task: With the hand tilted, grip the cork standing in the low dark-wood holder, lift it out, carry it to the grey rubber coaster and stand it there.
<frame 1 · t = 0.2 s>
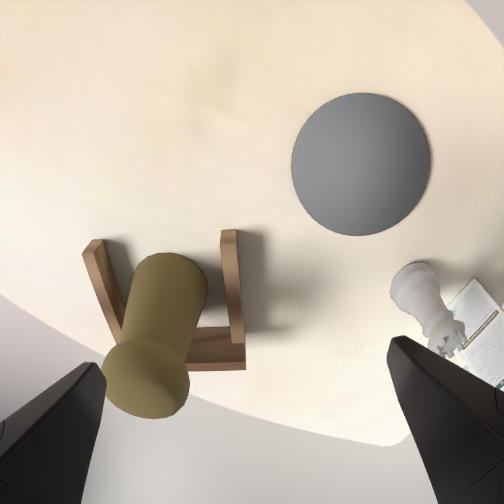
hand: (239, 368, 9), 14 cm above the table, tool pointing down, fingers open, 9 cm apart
rook chess piece: (409, 280, 25), on the table
syrup box: (465, 305, 27), on the table
holder: (170, 286, 24), on the table
coaster: (364, 166, 20), on the table
cork: (170, 284, 25), on the table
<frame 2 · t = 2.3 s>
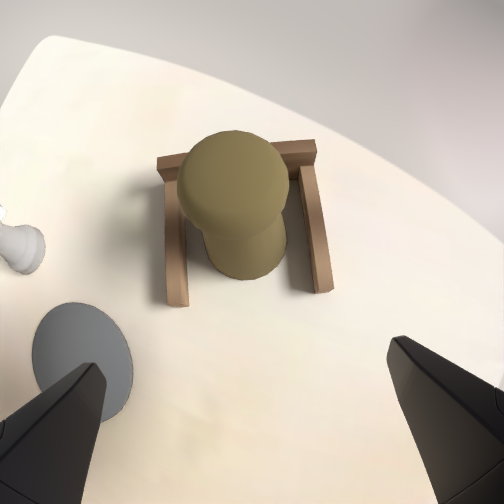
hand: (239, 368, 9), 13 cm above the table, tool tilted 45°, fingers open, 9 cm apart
rook chess piece: (32, 252, 25), on the table
holder: (245, 239, 24), on the table
coaster: (78, 364, 22), on the table
cork: (245, 240, 24), on the table
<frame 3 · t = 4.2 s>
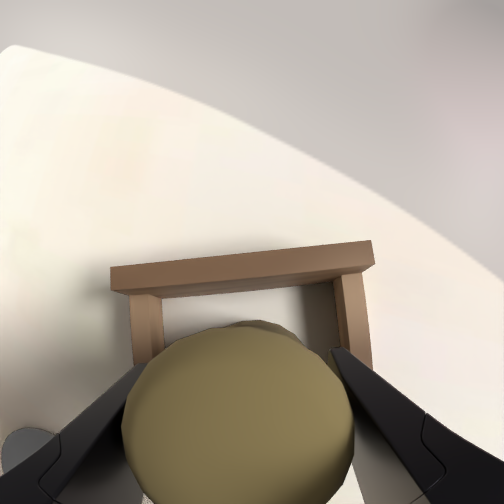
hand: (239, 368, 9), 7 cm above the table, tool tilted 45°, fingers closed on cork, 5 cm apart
holder: (254, 378, 15), on the table
coaster: (55, 492, 14), on the table
cork: (254, 378, 15), on the table, touching gripper
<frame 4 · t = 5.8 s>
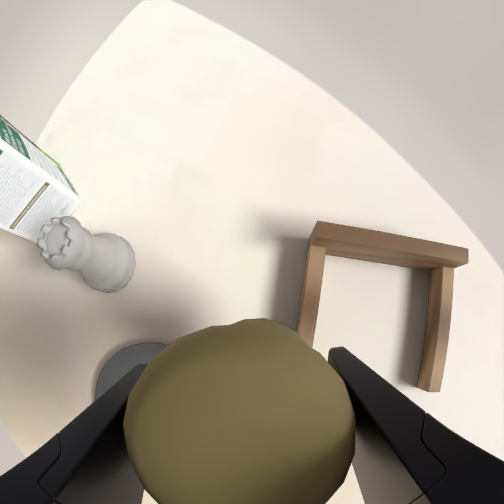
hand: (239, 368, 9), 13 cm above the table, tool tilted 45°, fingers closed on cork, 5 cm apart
rook chess piece: (113, 265, 23), on the table
syrup box: (51, 205, 25), on the table
holder: (373, 324, 21), on the table
coaster: (157, 408, 21), on the table
cork: (257, 376, 16), point 6 cm above the table, touching gripper
when the fingers open (8 cm above the table, at t = 7.6 s): cork stays where it is, resting on coaster.
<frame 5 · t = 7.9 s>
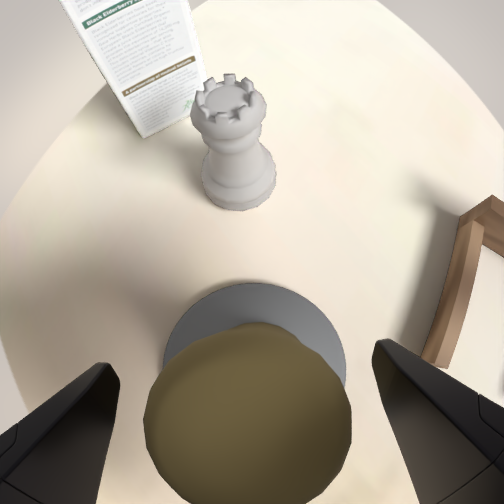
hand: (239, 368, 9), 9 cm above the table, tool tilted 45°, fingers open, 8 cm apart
rook chess piece: (240, 181, 20), on the table
syrup box: (165, 101, 22), on the table
holder: (498, 321, 16), on the table
coaster: (253, 374, 17), on the table
cork: (257, 376, 16), resting on coaster
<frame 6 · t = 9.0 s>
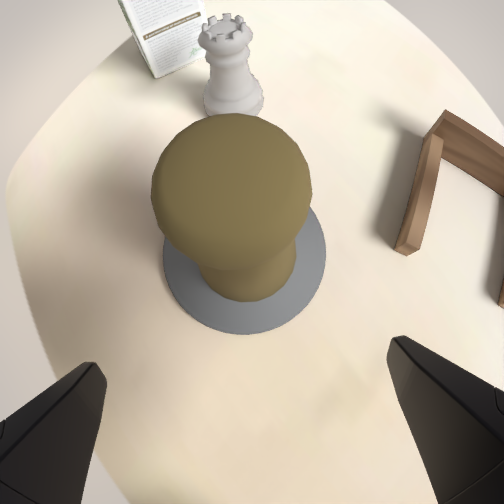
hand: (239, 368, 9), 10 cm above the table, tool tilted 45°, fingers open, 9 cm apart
rook chess piece: (234, 106, 23), on the table
syrup box: (174, 53, 24), on the table
holder: (469, 226, 20), on the table
coaster: (243, 252, 20), on the table
cork: (246, 252, 20), resting on coaster
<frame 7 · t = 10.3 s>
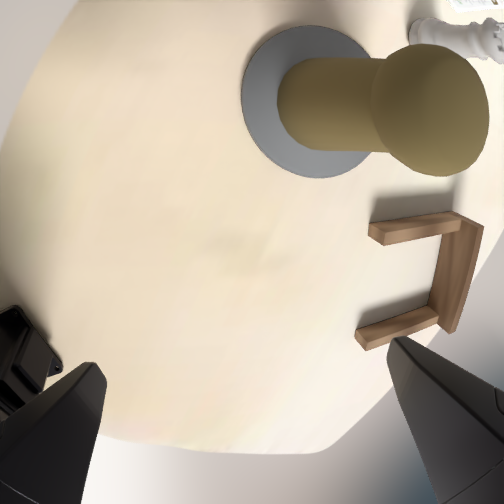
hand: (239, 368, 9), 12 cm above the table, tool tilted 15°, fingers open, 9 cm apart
rook chess piece: (424, 44, 18), on the table
holder: (403, 275, 26), on the table
coaster: (319, 100, 18), on the table
cork: (321, 103, 18), resting on coaster
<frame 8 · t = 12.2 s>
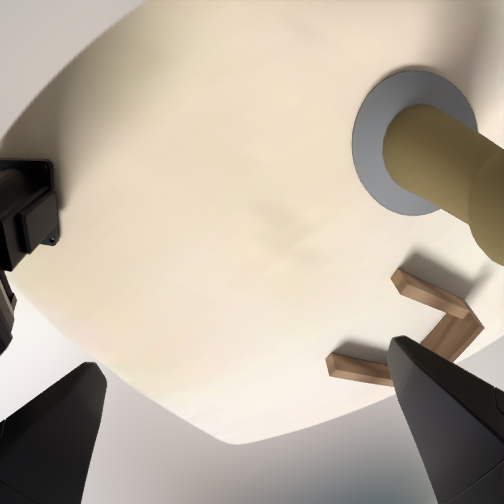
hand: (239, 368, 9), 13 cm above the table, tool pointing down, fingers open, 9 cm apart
holder: (395, 330, 27), on the table
coaster: (420, 144, 18), on the table
cork: (421, 148, 18), resting on coaster
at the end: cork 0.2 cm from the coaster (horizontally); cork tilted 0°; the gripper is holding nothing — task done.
